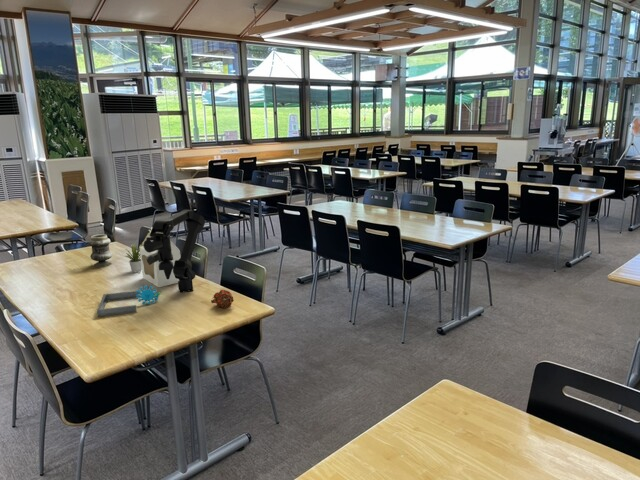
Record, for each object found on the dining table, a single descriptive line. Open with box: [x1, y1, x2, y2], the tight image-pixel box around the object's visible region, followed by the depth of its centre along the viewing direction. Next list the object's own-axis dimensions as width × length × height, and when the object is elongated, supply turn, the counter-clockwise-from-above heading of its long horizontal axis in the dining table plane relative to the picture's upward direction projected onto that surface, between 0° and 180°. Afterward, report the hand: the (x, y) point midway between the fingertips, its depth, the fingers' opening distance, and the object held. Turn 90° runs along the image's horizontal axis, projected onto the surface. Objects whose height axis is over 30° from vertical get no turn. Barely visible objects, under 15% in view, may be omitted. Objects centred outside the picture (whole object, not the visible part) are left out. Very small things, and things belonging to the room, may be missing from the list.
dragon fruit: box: [210, 289, 235, 309], centre depth 209 cm, size 8×8×12 cm
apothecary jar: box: [88, 233, 113, 268], centre depth 278 cm, size 12×12×18 cm
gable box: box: [138, 226, 181, 288], centre depth 246 cm, size 22×13×28 cm, turn 41°
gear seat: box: [96, 290, 140, 318], centre depth 212 cm, size 16×21×3 cm
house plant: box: [122, 242, 142, 273], centre depth 264 cm, size 14×14×16 cm
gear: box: [136, 284, 162, 306], centre depth 217 cm, size 11×6×10 cm
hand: (167, 279), depth 219 cm, fingers closed
